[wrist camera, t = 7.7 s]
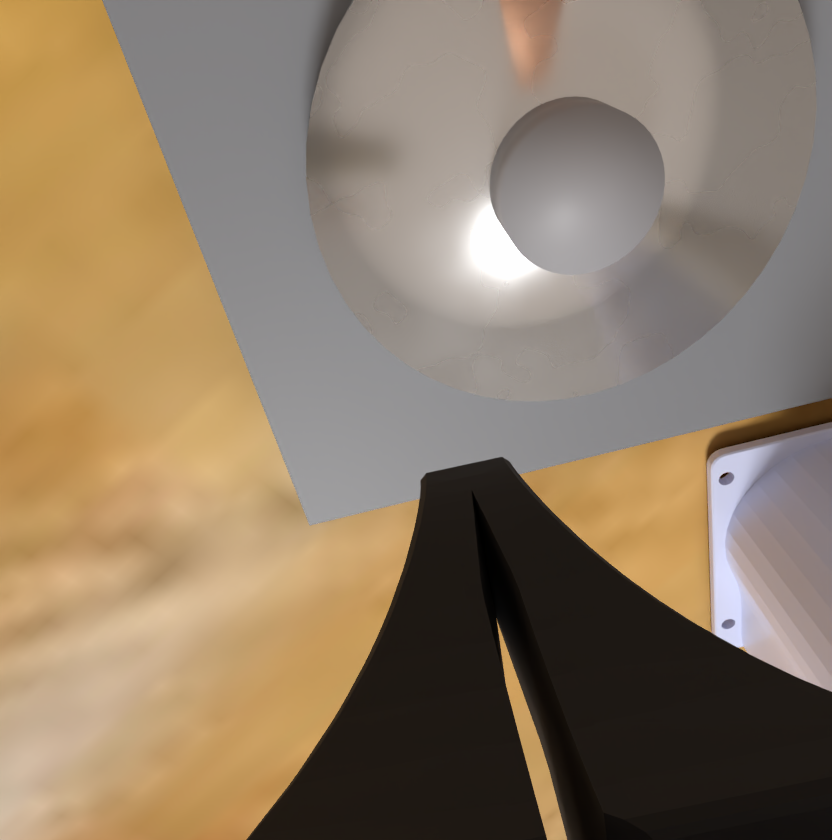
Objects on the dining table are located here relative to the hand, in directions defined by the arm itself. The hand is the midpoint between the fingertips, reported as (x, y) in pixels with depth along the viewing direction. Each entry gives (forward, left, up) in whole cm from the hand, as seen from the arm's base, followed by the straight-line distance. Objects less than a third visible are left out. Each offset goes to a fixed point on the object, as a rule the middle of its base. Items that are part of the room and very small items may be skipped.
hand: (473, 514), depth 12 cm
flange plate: (+4, -4, -9) cm, 11 cm away
